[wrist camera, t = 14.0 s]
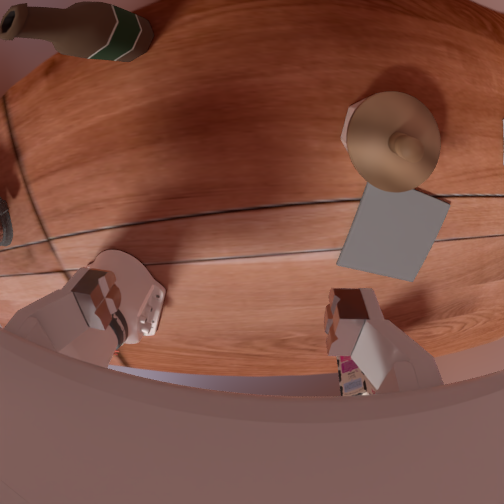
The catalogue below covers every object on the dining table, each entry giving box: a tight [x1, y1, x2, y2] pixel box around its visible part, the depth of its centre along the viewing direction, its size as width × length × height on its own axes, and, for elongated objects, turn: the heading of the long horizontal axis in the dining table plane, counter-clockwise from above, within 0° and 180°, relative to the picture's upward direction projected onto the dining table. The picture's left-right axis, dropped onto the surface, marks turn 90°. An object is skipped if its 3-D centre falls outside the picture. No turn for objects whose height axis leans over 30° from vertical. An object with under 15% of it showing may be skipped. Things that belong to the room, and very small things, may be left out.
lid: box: [346, 91, 441, 193], centre depth 27 cm, size 13×13×6 cm
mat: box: [336, 182, 450, 282], centre depth 41 cm, size 16×16×1 cm
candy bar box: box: [337, 356, 377, 396], centre depth 48 cm, size 11×5×16 cm, turn 36°
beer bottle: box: [0, 2, 154, 62], centre depth 18 cm, size 8×8×24 cm
